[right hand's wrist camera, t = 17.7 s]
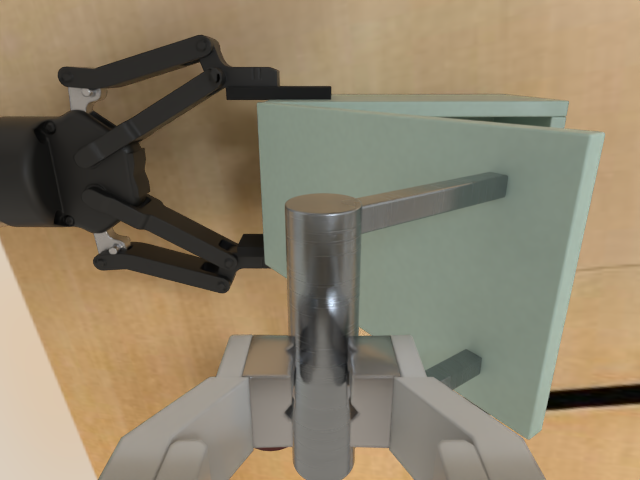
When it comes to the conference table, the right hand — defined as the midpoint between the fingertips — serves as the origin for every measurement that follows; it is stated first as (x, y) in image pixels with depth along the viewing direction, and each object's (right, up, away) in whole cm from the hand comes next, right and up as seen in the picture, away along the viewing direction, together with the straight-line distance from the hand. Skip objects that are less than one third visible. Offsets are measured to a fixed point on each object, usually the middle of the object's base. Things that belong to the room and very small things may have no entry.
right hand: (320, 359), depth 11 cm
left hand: (+1, +7, +20) cm, 21 cm away
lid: (+2, +4, +10) cm, 10 cm away
